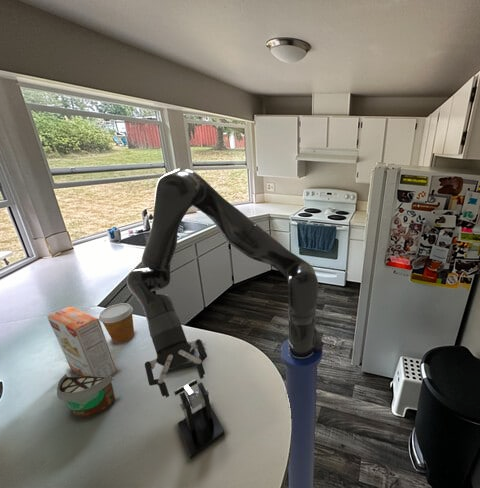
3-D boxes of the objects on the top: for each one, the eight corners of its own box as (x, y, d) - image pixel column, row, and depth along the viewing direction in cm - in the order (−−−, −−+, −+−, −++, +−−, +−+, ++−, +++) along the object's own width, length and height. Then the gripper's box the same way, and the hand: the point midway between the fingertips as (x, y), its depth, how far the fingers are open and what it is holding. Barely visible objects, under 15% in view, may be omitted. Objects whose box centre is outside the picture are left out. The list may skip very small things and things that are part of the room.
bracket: (178, 425, 64) (169, 390, 60) (209, 405, 70) (203, 371, 65) (191, 459, 58) (181, 421, 53) (225, 434, 63) (219, 398, 58)
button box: (202, 344, 91) (201, 335, 89) (199, 365, 82) (197, 356, 81) (171, 350, 88) (169, 341, 86) (164, 373, 79) (162, 363, 78)
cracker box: (69, 370, 78) (45, 315, 71) (92, 357, 84) (72, 304, 76) (95, 387, 73) (72, 330, 66) (118, 371, 79) (99, 317, 71)
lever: (175, 396, 66) (172, 388, 66) (197, 384, 70) (195, 376, 69) (185, 414, 57) (182, 404, 57) (209, 398, 60) (207, 389, 60)
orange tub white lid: (127, 326, 98) (119, 300, 94) (145, 332, 96) (138, 305, 91) (100, 342, 90) (90, 315, 86) (119, 349, 87) (110, 321, 83)
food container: (53, 423, 64) (39, 395, 60) (75, 400, 69) (63, 373, 66) (103, 423, 64) (92, 395, 61) (121, 400, 70) (111, 374, 66)
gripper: (135, 340, 64) (155, 404, 60) (195, 317, 73) (215, 371, 69) (136, 345, 69) (154, 403, 65) (191, 323, 78) (210, 373, 75)
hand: (185, 387), depth 67 cm, fingers open, 8 cm apart
